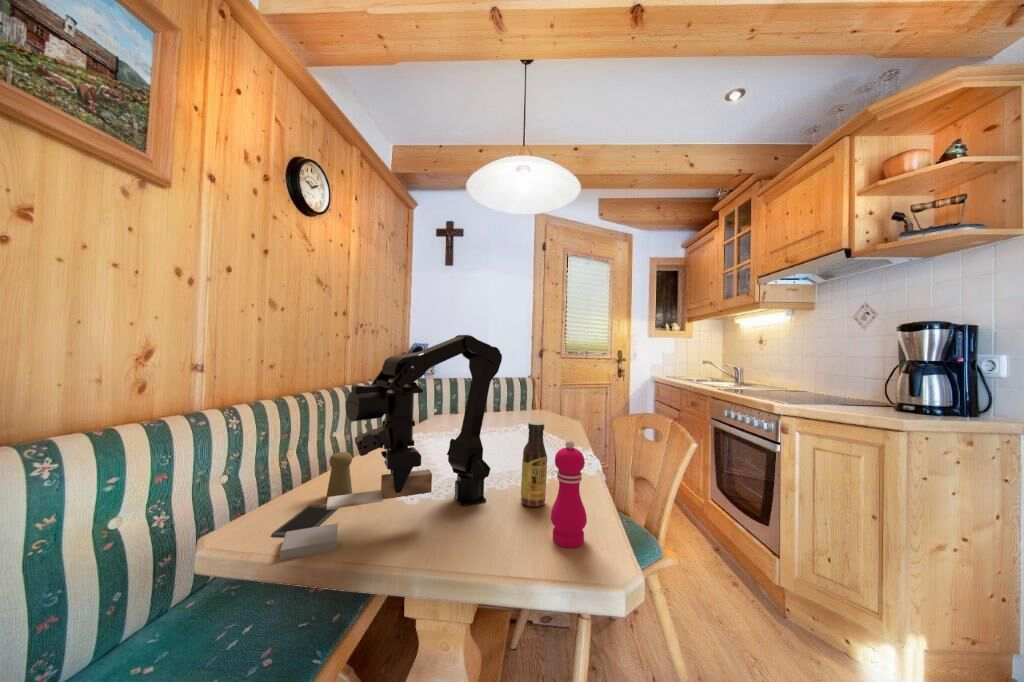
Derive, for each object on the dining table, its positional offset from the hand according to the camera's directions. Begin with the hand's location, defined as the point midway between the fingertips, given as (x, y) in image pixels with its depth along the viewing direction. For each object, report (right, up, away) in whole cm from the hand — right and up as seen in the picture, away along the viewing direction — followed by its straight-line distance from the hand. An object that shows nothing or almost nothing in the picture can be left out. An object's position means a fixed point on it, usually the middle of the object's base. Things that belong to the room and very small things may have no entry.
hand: (397, 489), depth 74 cm
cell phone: (-20, -8, +2) cm, 22 cm away
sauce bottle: (+30, -10, +14) cm, 34 cm away
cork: (-19, -8, +15) cm, 26 cm away
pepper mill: (+36, -9, -3) cm, 37 cm away
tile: (-10, -7, -5) cm, 13 cm away
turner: (-3, -1, -1) cm, 3 cm away
